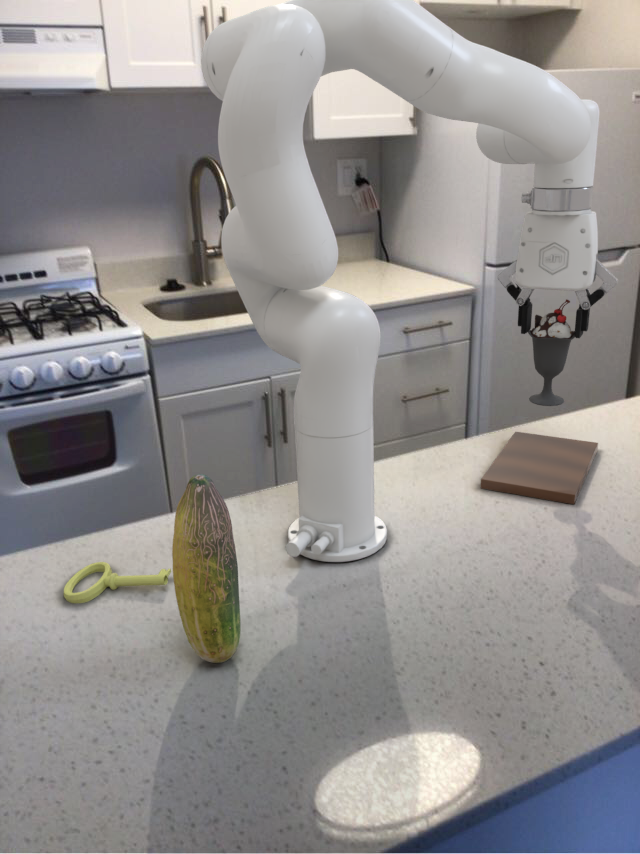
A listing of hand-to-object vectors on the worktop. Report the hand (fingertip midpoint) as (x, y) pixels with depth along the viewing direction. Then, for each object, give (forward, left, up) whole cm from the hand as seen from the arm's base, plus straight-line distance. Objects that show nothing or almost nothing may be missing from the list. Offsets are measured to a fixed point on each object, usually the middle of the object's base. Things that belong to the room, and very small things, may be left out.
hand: (552, 332), depth 106 cm
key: (-52, +38, -21) cm, 67 cm away
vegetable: (-57, +20, -21) cm, 64 cm away
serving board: (0, 0, -21) cm, 21 cm away
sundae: (0, 0, -10) cm, 10 cm away
